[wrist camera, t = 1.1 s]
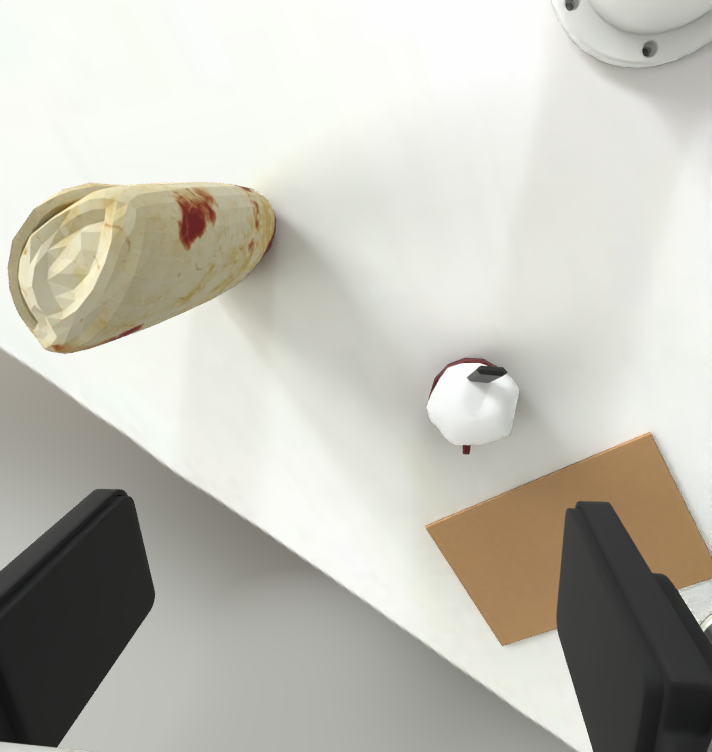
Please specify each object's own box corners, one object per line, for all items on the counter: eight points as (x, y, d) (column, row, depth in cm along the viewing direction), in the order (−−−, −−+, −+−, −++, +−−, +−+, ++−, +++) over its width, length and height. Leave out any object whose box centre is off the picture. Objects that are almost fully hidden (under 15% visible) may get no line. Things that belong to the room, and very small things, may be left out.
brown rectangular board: (649, 432, 39) (650, 433, 39) (718, 573, 43) (720, 575, 42) (425, 525, 45) (425, 527, 45) (501, 643, 49) (502, 646, 48)
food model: (231, 310, 41) (63, 404, 22) (170, 249, 40) (-59, 295, 21) (311, 223, 38) (193, 248, 19) (247, 155, 37) (57, 112, 18)
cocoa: (477, 443, 42) (493, 533, 31) (409, 411, 42) (401, 489, 31) (538, 345, 38) (581, 406, 27) (464, 310, 38) (478, 357, 27)
